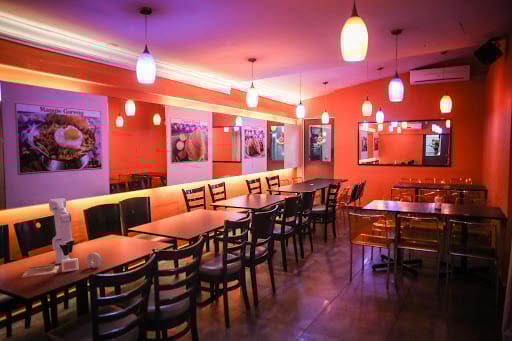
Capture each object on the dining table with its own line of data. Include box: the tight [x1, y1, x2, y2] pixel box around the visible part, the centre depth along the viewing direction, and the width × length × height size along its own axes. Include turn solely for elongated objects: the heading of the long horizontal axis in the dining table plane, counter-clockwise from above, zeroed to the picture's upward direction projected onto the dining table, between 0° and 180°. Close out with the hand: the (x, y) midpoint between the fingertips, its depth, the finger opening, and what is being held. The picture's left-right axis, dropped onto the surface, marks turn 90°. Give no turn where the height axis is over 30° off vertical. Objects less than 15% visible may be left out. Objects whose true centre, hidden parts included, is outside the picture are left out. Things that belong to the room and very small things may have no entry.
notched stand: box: [21, 263, 60, 279], centre depth 216 cm, size 12×18×4 cm, turn 111°
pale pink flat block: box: [60, 257, 79, 273], centre depth 218 cm, size 2×9×7 cm, turn 110°
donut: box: [85, 252, 102, 269], centre depth 221 cm, size 10×4×10 cm, turn 83°
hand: (68, 254), depth 216 cm, fingers open, 7 cm apart
